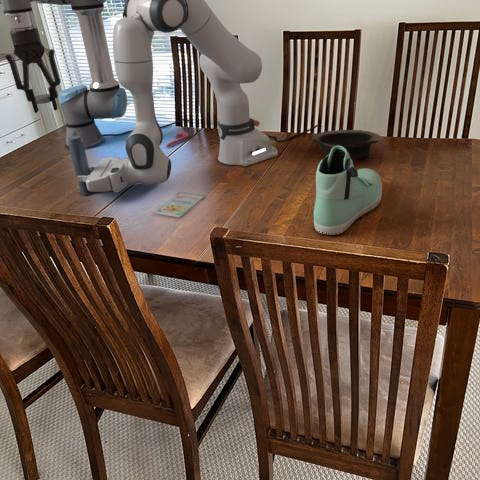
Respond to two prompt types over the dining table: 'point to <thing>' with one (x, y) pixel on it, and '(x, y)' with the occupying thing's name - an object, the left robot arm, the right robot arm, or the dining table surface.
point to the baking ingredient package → (179, 204)
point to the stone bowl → (347, 142)
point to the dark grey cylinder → (79, 161)
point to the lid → (42, 99)
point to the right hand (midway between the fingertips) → (81, 174)
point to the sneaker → (343, 192)
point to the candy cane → (185, 135)
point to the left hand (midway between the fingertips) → (46, 110)
